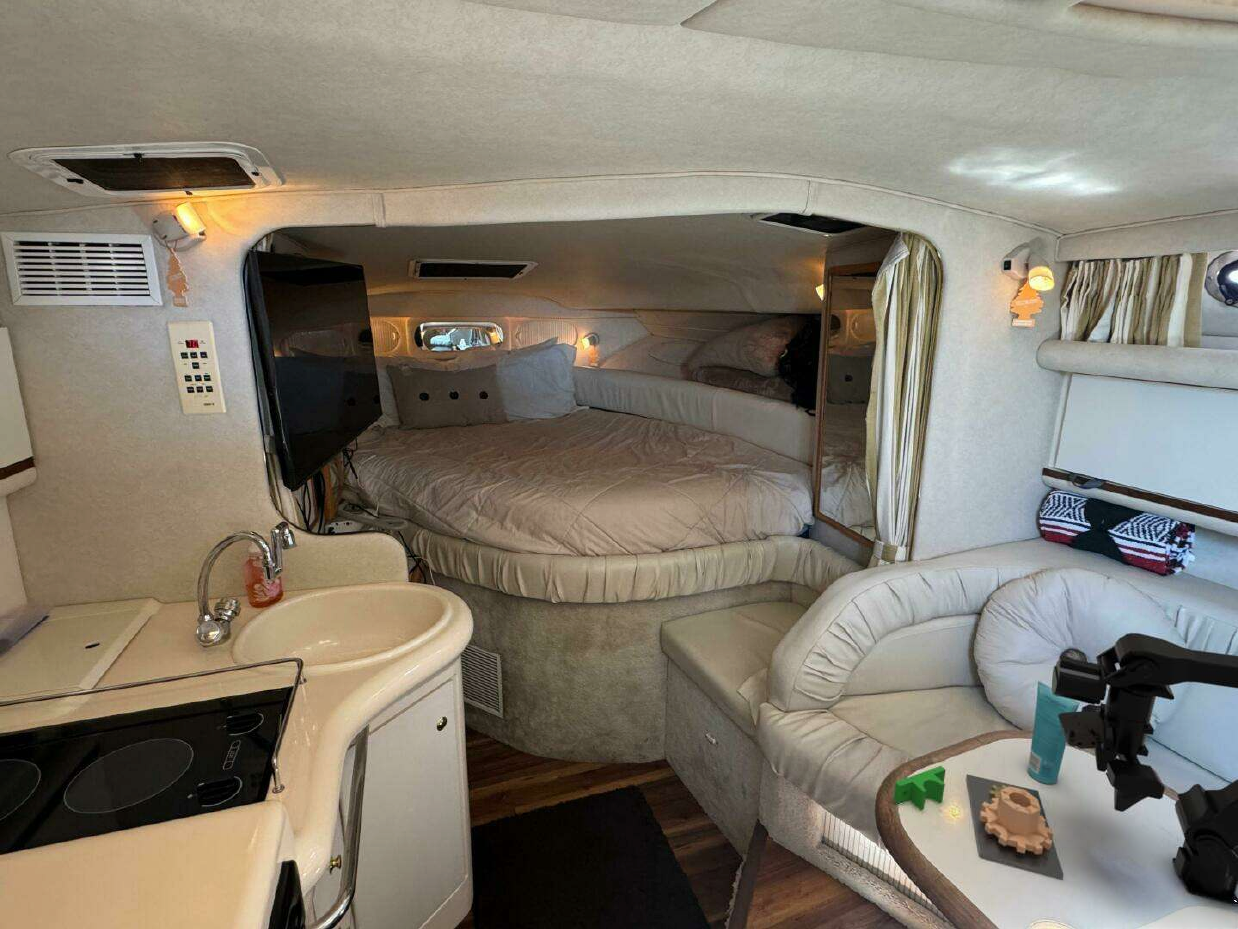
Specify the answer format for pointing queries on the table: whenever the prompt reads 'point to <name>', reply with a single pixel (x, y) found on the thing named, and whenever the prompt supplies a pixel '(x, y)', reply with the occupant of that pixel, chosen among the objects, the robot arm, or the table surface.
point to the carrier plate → (989, 844)
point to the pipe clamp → (921, 787)
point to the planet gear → (1017, 821)
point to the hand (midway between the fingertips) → (1109, 789)
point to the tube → (1048, 735)
